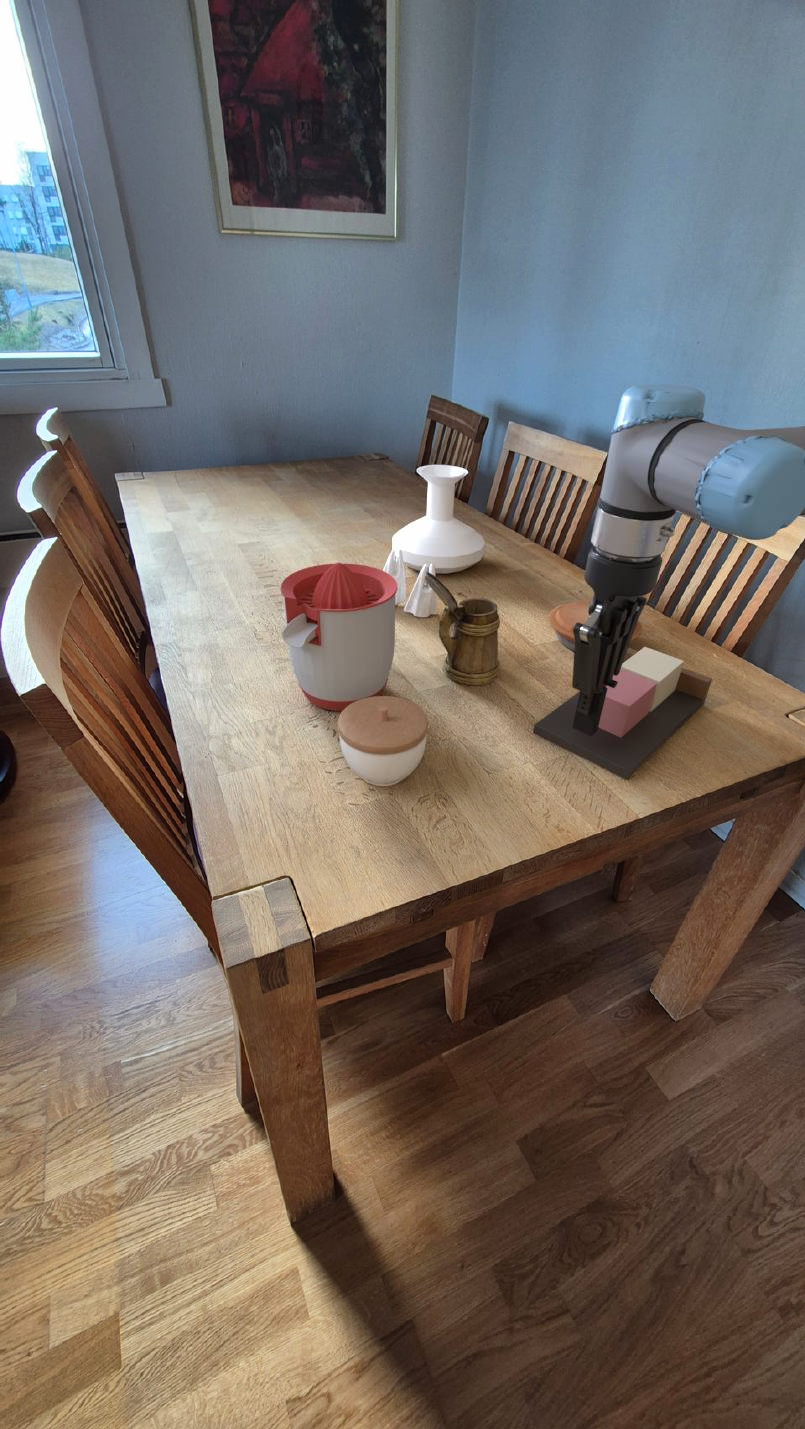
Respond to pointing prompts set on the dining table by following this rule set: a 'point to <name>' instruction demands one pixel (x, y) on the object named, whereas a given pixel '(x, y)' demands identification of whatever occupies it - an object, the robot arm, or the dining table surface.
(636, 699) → the pink block
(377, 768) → the trinket box
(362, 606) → the citrus juicer
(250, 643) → the dining table surface
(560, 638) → the pie
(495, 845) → the dining table surface
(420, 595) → the shaker set
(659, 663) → the cream block
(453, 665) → the wooden mug
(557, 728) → the backrest board
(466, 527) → the white vase
